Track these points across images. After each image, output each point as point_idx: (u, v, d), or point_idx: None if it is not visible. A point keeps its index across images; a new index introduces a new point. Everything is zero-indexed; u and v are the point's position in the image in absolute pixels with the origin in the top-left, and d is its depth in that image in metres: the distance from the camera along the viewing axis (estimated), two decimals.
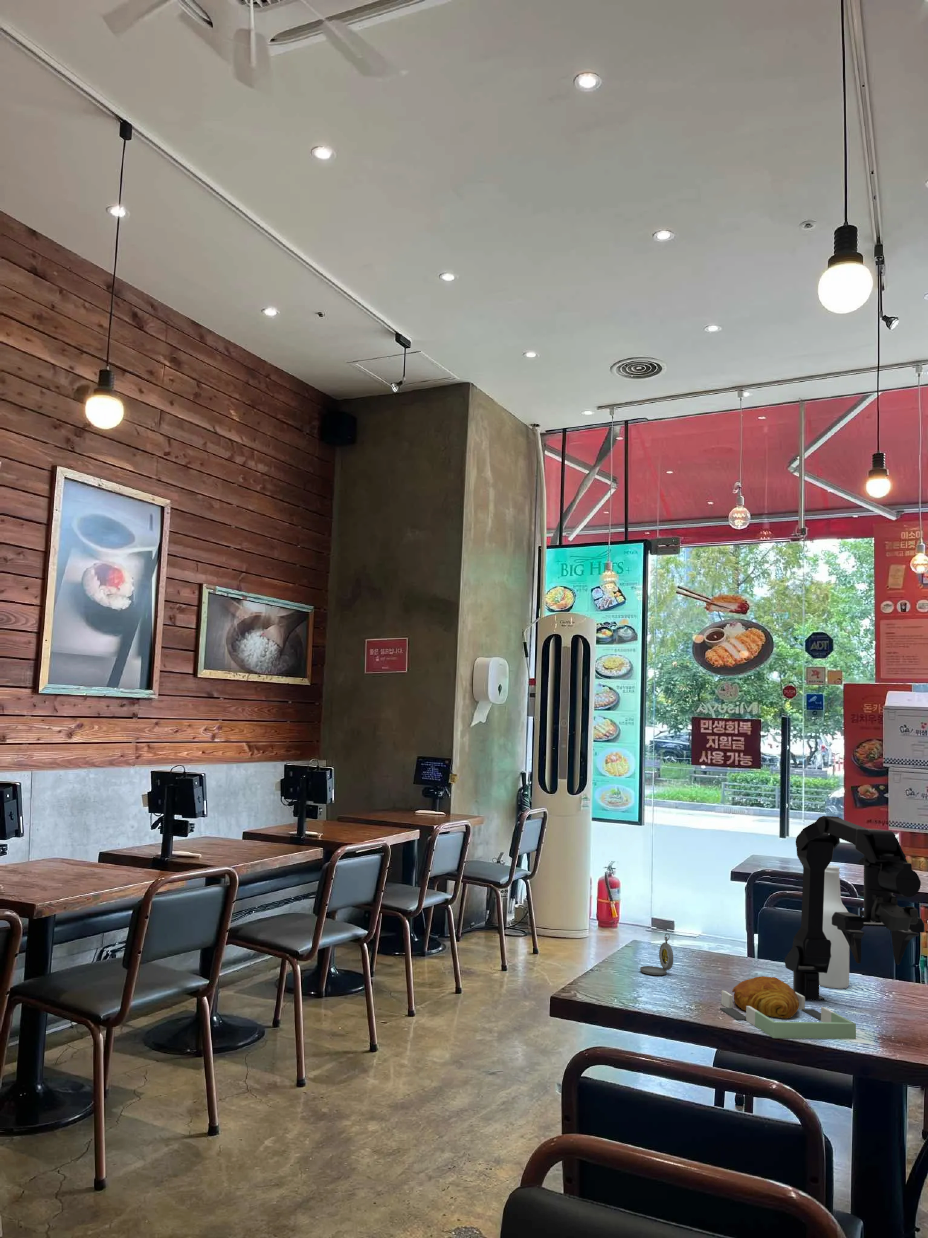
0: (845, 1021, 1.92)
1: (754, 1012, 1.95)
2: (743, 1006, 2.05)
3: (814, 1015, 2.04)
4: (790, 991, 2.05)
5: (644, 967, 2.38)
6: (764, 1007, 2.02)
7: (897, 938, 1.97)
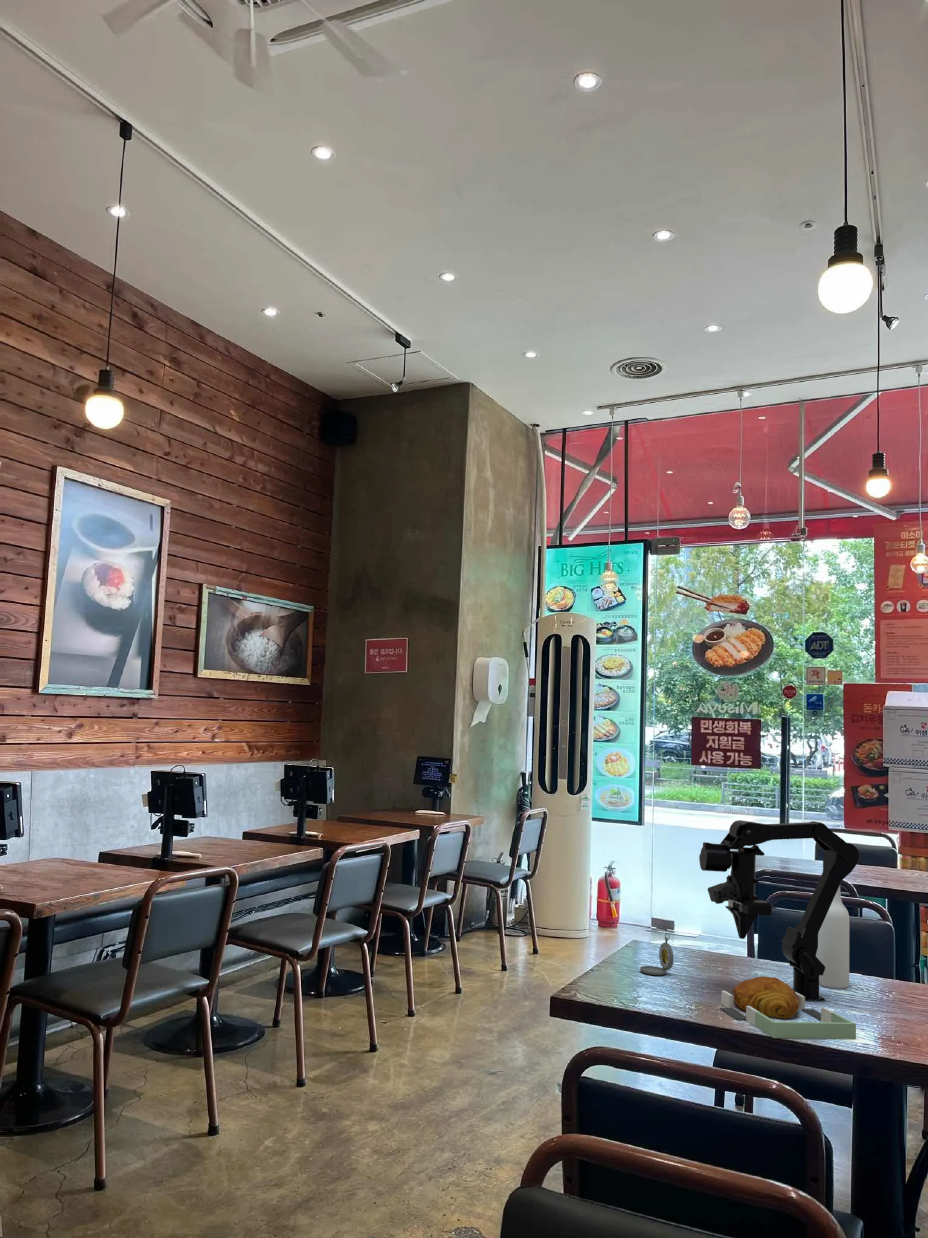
0: (845, 1021, 1.92)
1: (754, 1012, 1.95)
2: (743, 1006, 2.05)
3: (814, 1015, 2.04)
4: (790, 991, 2.05)
5: (644, 967, 2.38)
6: (764, 1007, 2.02)
7: None
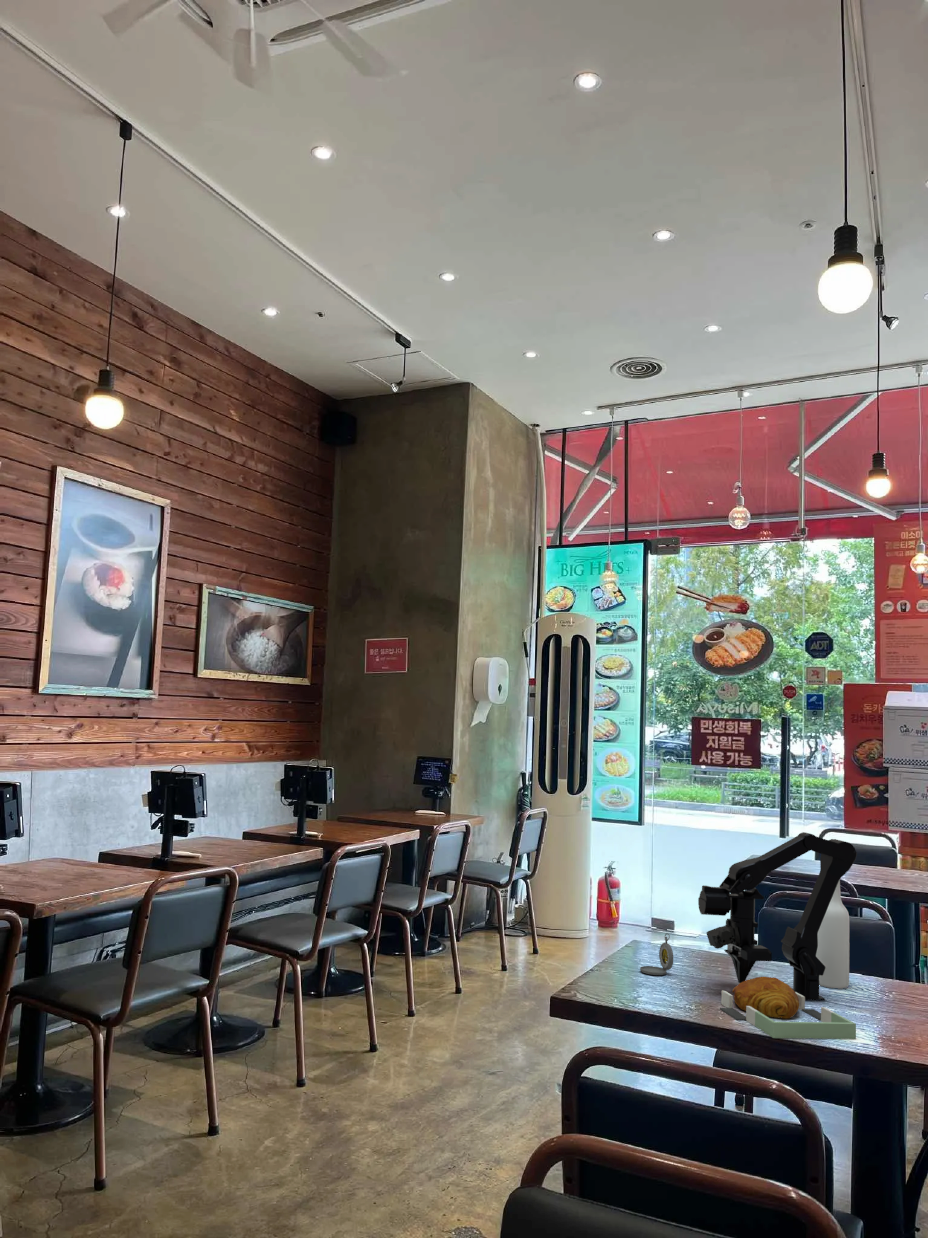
0: (845, 1021, 1.92)
1: (754, 1012, 1.95)
2: (743, 1006, 2.05)
3: (814, 1015, 2.04)
4: (790, 991, 2.05)
5: (644, 967, 2.38)
6: (764, 1007, 2.02)
7: None
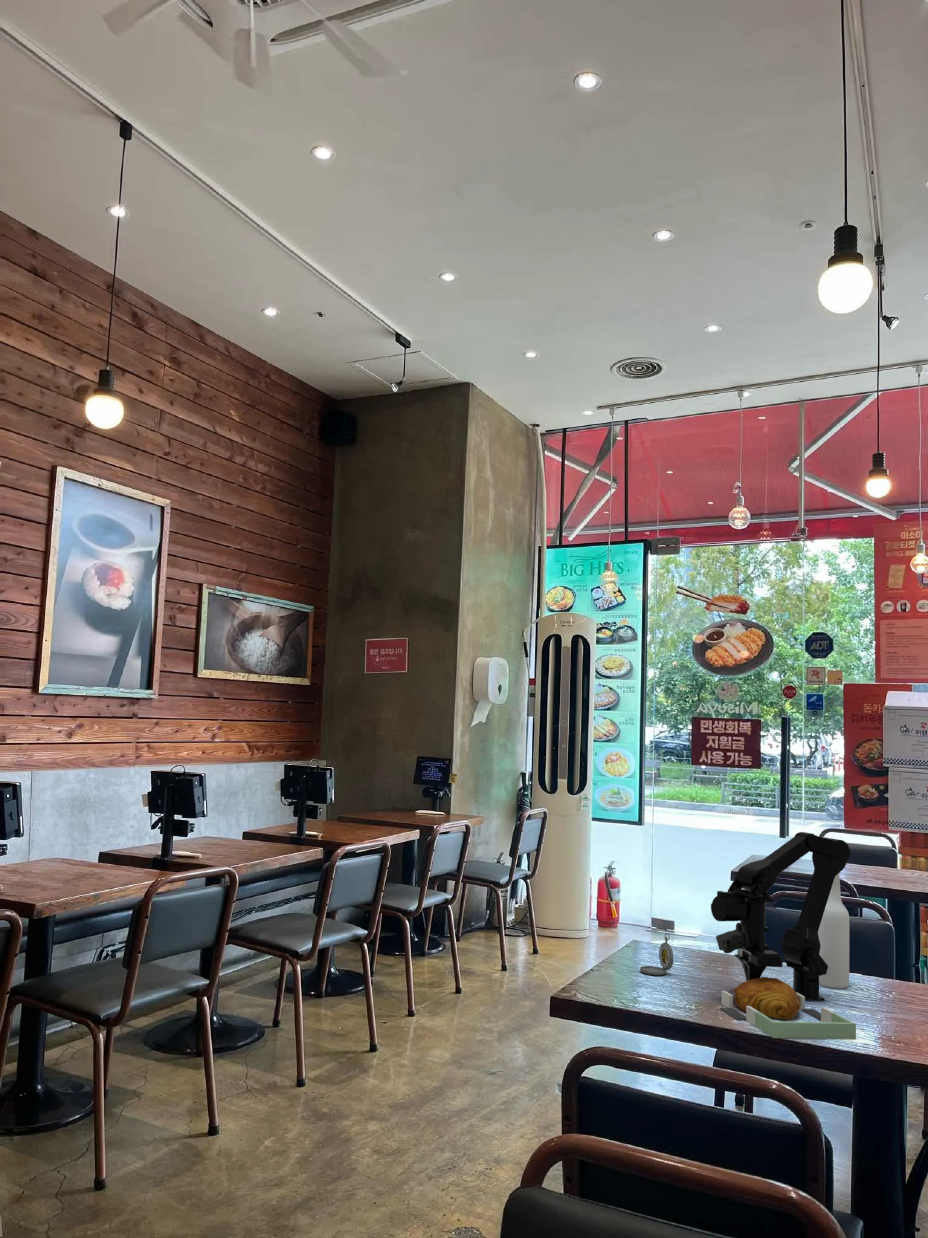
0: (845, 1021, 1.92)
1: (754, 1012, 1.95)
2: (743, 1007, 2.04)
3: (814, 1015, 2.04)
4: (791, 992, 2.04)
5: (644, 967, 2.38)
6: (764, 1008, 2.01)
7: None
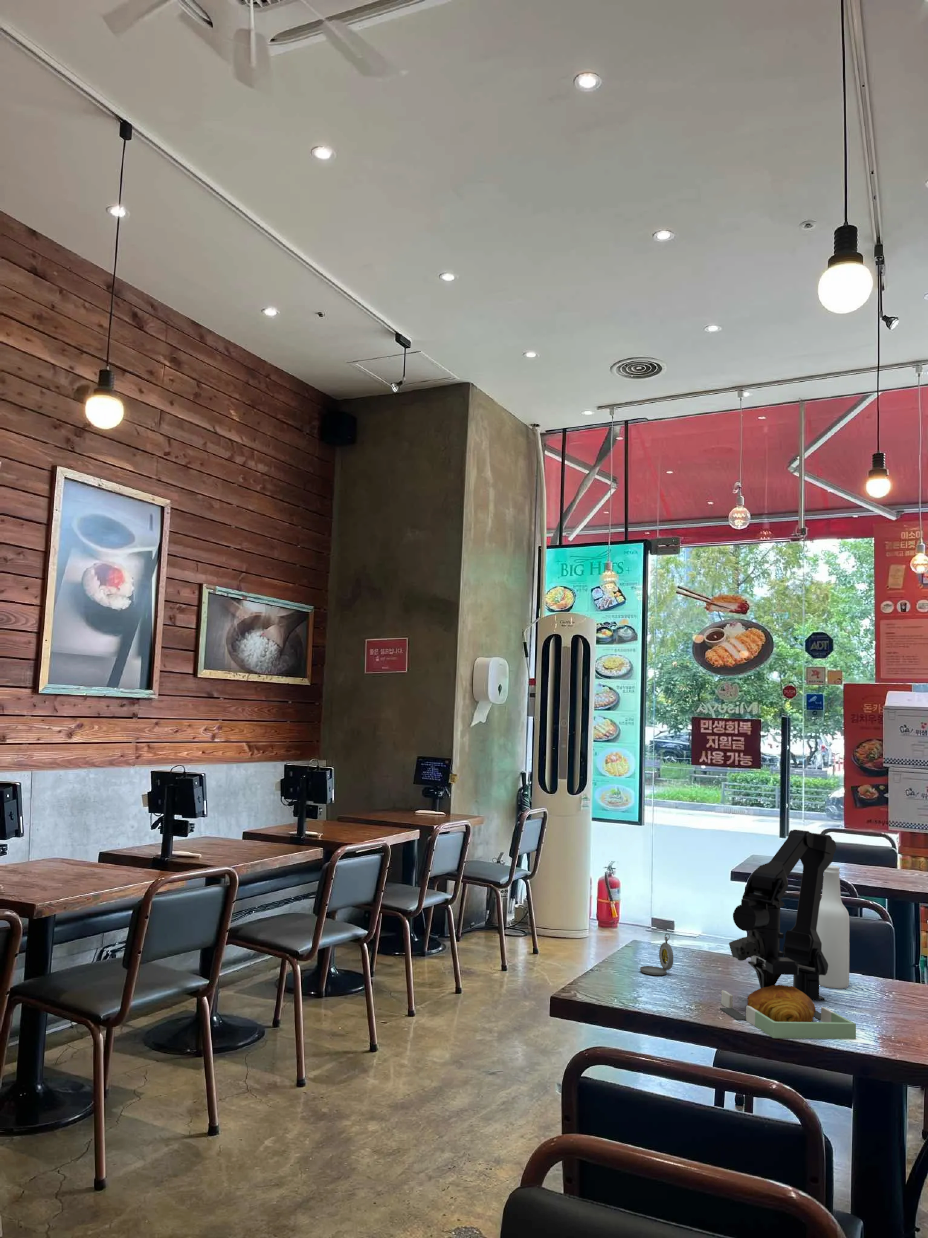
0: (845, 1021, 1.92)
1: (754, 1012, 1.95)
2: None
3: (814, 1015, 2.04)
4: (804, 1001, 1.97)
5: (644, 967, 2.38)
6: (774, 1016, 1.95)
7: None
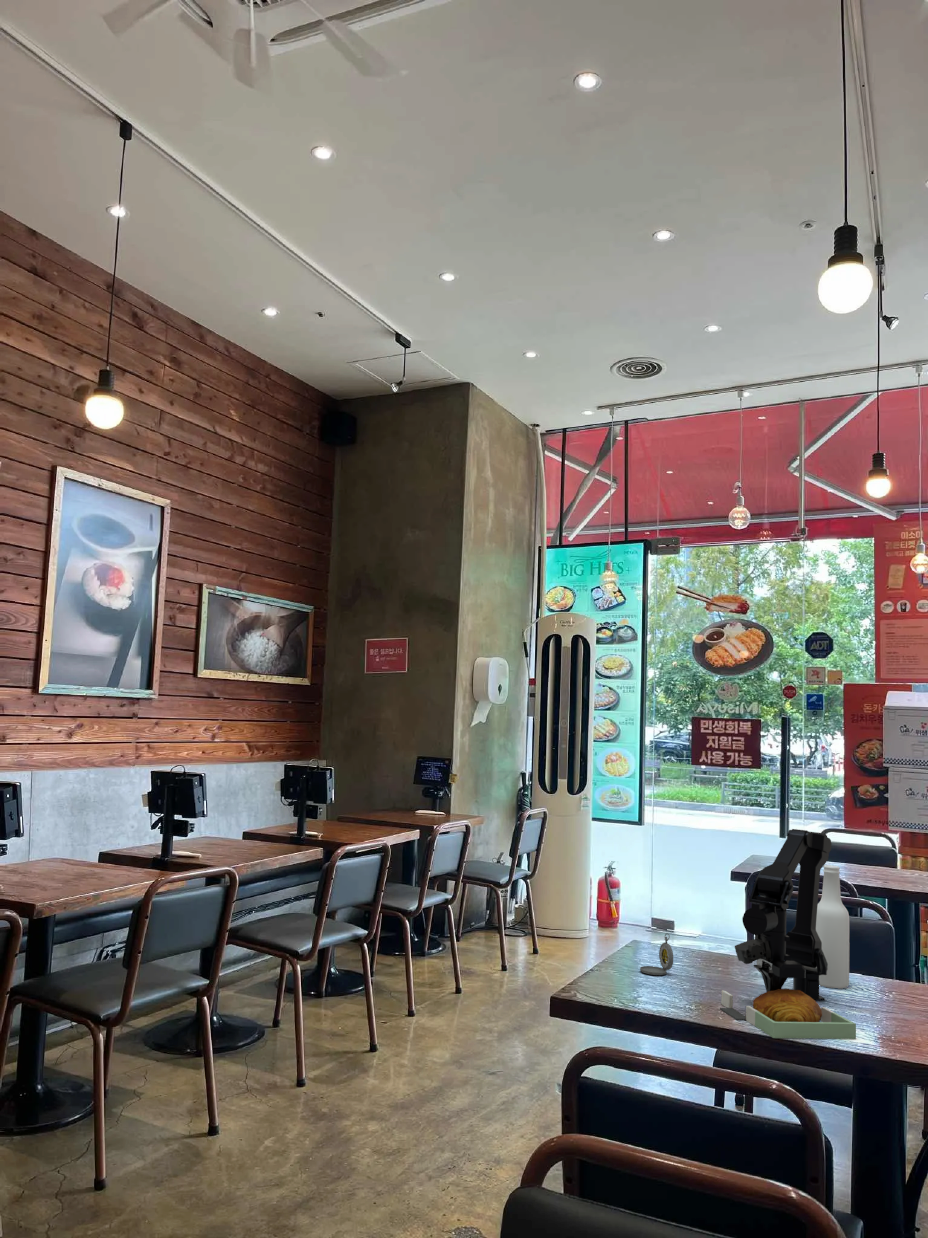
0: (845, 1021, 1.92)
1: (754, 1012, 1.95)
2: None
3: None
4: (810, 1005, 1.94)
5: (644, 967, 2.38)
6: (778, 1020, 1.93)
7: None
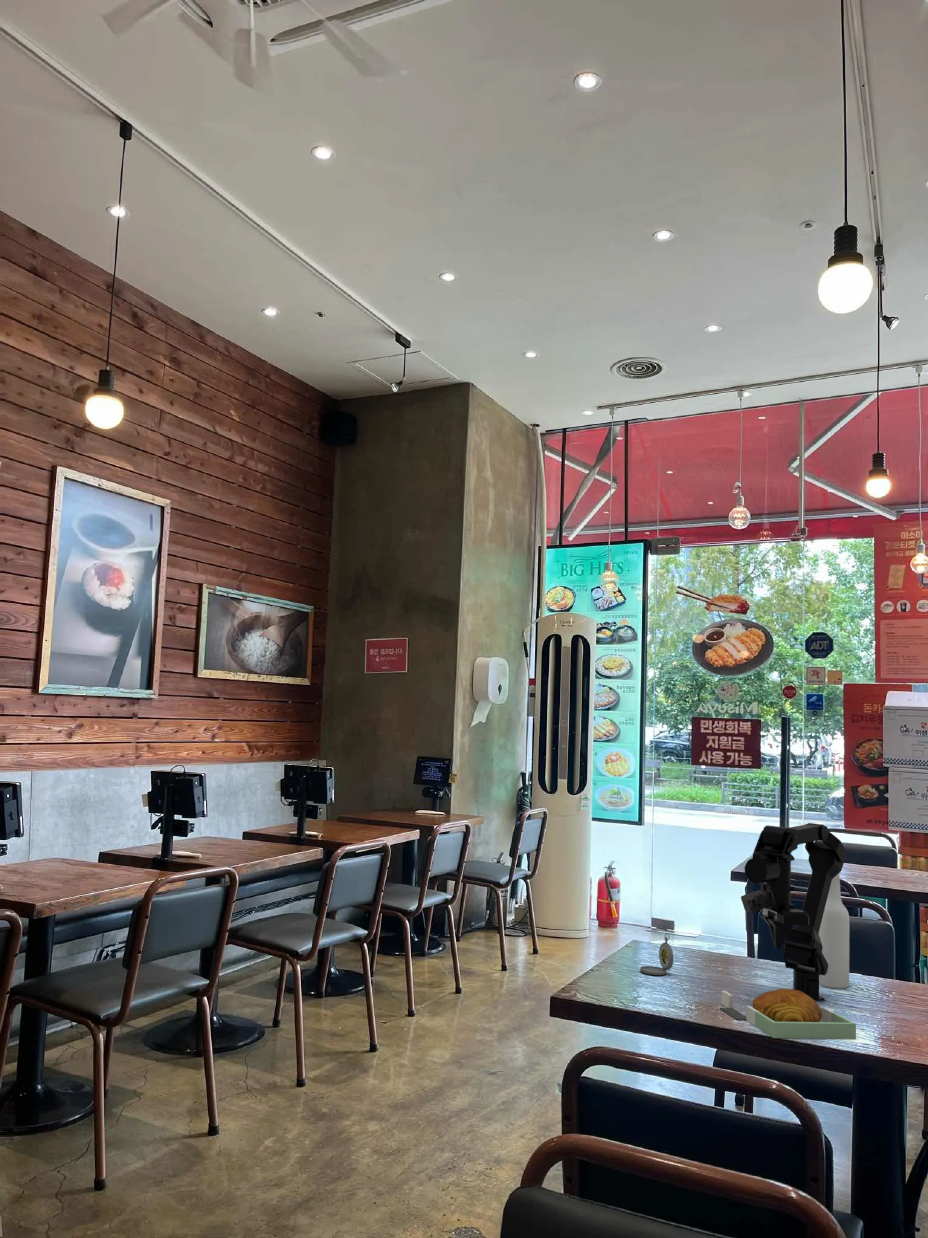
0: (845, 1021, 1.92)
1: (754, 1012, 1.95)
2: None
3: None
4: (810, 1005, 1.94)
5: (644, 967, 2.38)
6: (778, 1020, 1.93)
7: None
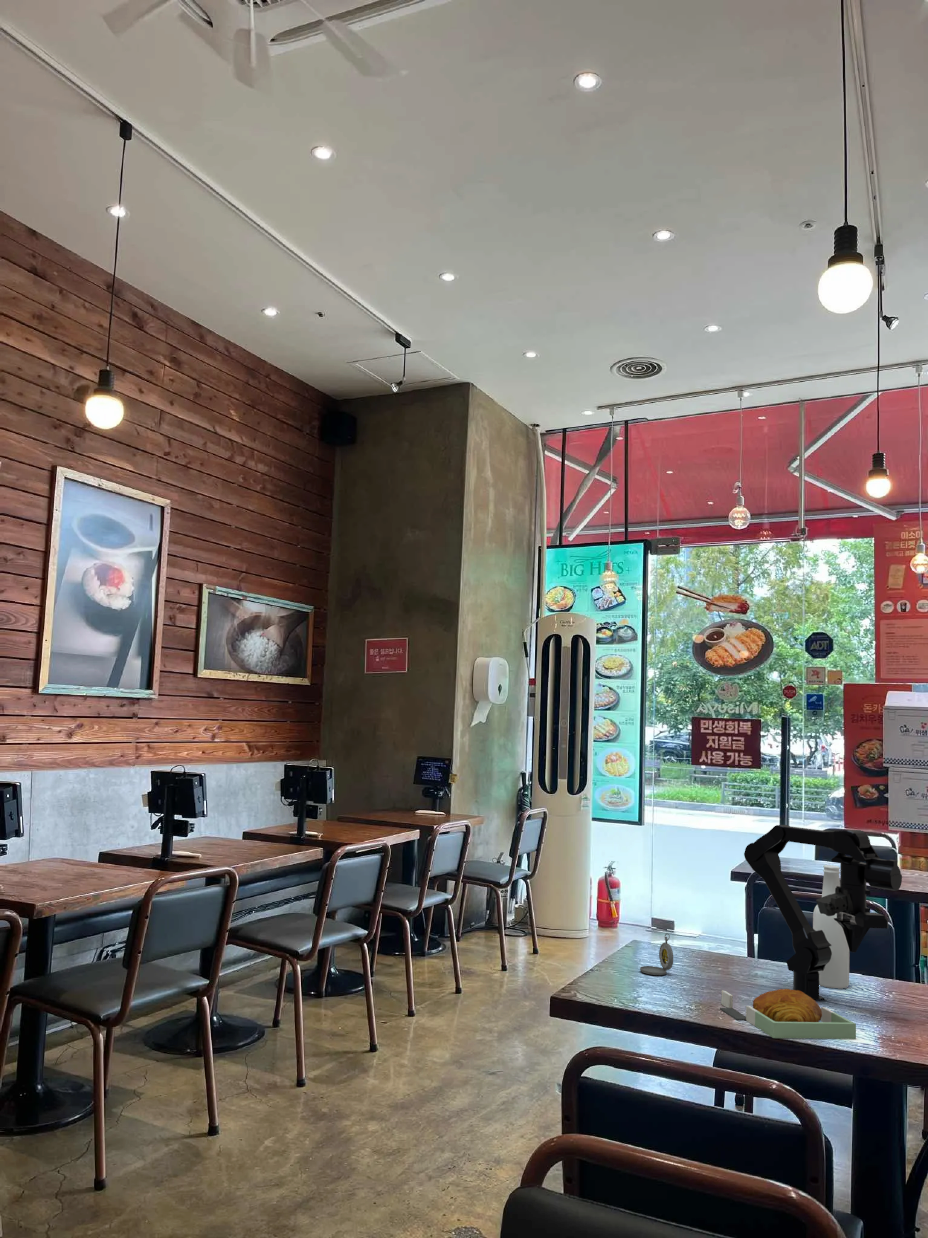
0: (845, 1021, 1.92)
1: (754, 1012, 1.95)
2: None
3: None
4: (810, 1005, 1.94)
5: (644, 967, 2.38)
6: (778, 1020, 1.93)
7: None
